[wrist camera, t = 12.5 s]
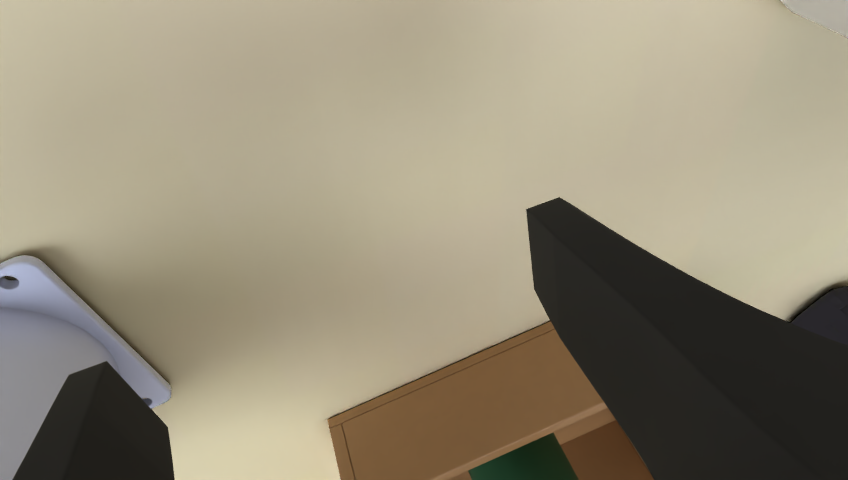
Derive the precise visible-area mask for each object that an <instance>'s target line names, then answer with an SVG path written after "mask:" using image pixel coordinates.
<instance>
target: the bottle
mask: <svg viewBox="0 0 848 480" xmlns="http://www.w3.org/2000/svg"><path fill="white" fill-rule="evenodd" d="M468 472H469V474H470V477H471V479H472V480H579V479H578V477H577V475H576V474H575V472H574V470H573V468H572V466H571V464H570V462H569V461H568V459H567V457H566V455H565V453H564V451H563V449H562V447H561V446H560V444H559V442H558V440H557V438H556V436H555V434H554V433H550V434H548V435H546V436H544V437H541V438H539V439H537V440H535V441H532V442H530V443H528V444H526V445H524V446H521V447H519V448H517V449H515V450H512V451H510V452H508V453H506V454H504V455H501V456H499V457H497V458H495V459H492V460H490V461H488V462H486V463H484V464H481V465H479V466H477V467H475V468H472V469H470V470H468Z"/></svg>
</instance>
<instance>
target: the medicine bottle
mask: <svg viewBox="0 0 848 480" xmlns="http://www.w3.org/2000/svg"><path fill="white" fill-rule="evenodd" d="M780 1H781V2H782V3H783V4H784V5H785V6H786V7H787V8H788V9H789V10H790V11H791V12H793V13H795V14H797V15H799V16H801V17H803V18H806V19H808V20H810V21H812V22H814V23H816V24H818V25H821V26H823V27H825V28H827V29H829V30H831V31H834V32H836V33H838V34H840V35H842V36H844V37H846V38H848V0H780Z"/></svg>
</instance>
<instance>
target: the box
mask: <svg viewBox="0 0 848 480" xmlns="http://www.w3.org/2000/svg"><path fill="white" fill-rule="evenodd" d="M328 424H329V428H330V433H331V438H332V442H333V447H334V451H335V455H336V460H337V464H338V469H339V473H340V478H341V480H472V479H471V477H470V474H469V472H468V470H470V469H472V468H475V467H477V466H479V465H481V464H484V463H486V462H488V461H490V460H492V459H495V458H497V457H499V456H501V455H504V454H506V453H508V452H510V451H512V450H515V449H517V448H519V447H521V446H524V445H526V444H528V443H530V442H532V441H535V440H537V439H539V438H541V437H544V436H546V435H548V434H550V433H554V434H555V436H556V438H557V440H558V442H559V444H560V446H561V447H562V449H563V451H564V453H565V455H566V457H567V459H568V461H569V462H570V464H571V466H572V468H573V470H574V472H575V474H576V475H577V477H578V479H579V480H654V479H653V477H652V475H651V473H650V471H649V470H648V468H647V466H646V464H645V463H644V461H643V459H642V458H641V456H640V455H639V453H638V452H637V450H636V448H635V447H634V445H633V444H632V442H631V441H630V439H629V438H628V436H627V435H626V433H625V432H624V430H623V429H622V427H621V426H620V425H619V423H618V422H617V420H616V419H615V417H614V416H613V414H612V413H611V412H610V410H609V409H608V407H607V406H606V404H605V403H604V402H603V400H602V399H601V397H600V396H599V394H598V393H597V391H596V390H595V389H594V387H593V386H592V384H591V383H590V381H589V380H588V378H587V377H586V376H585V374H584V373H583V371H582V370H581V368H580V367H579V365H578V364H577V362H576V361H575V360H574V358H573V357H572V355H571V354H570V352H569V351H568V349H567V348H566V346H565V345H564V343H563V342H562V340H561V339H560V337H559V336H558V334H557V332H556V330H555V328H554V326H553V324H552V323H551V321H550V322H548V323H546V324H543V325H541V326H539V327H536V328H534V329H532V330H530V331H527V332H525V333H523V334H521V335H518V336H516V337H514V338H511V339H509V340H507V341H505V342H502V343H500V344H498V345H496V346H493V347H491V348H489V349H487V350H484V351H482V352H480V353H477V354H475V355H473V356H471V357H468V358H466V359H464V360H462V361H459V362H457V363H455V364H453V365H450V366H448V367H446V368H443V369H441V370H439V371H437V372H434V373H432V374H430V375H428V376H425V377H423V378H421V379H419V380H416V381H414V382H412V383H409V384H407V385H405V386H403V387H400V388H398V389H396V390H394V391H391V392H389V393H387V394H385V395H382V396H380V397H378V398H375V399H373V400H371V401H369V402H366V403H364V404H362V405H360V406H357V407H355V408H353V409H351V410H348V411H346V412H344V413H341V414H339V415H337V416H335V417H332V418H330V419H328Z"/></svg>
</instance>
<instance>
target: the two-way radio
mask: <svg viewBox="0 0 848 480" xmlns="http://www.w3.org/2000/svg"><path fill="white" fill-rule="evenodd" d="M791 324H794V325H796V326H798V327H801V328H803V329H806V330H808V331H811V332H813V333H816V334H818V335H821V336H824V337H826V338H829V339H831V340H834V341H837V342H840V343H843V344H846V345H848V286H844V287H841V288H837V289H835V290H834V289H831V290H830V291H829V292H828V293H827V294H825V295H824V296H822V297H821V298H820V299H818V300H817V301H816V302H814V303H813V304H812V305H811V306H810V307H808V308H807V309H806V310H805V311H803V312H802V313H801V314H800V315H799V316H797V317H796V318H795V319H794V320H793V321H792V322H791Z"/></svg>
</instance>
